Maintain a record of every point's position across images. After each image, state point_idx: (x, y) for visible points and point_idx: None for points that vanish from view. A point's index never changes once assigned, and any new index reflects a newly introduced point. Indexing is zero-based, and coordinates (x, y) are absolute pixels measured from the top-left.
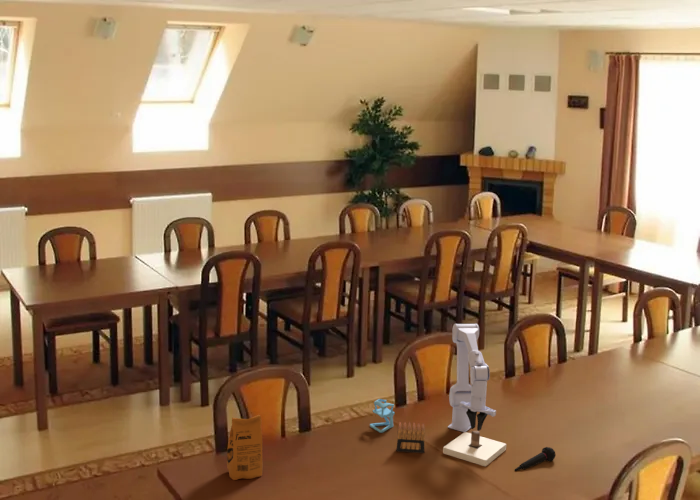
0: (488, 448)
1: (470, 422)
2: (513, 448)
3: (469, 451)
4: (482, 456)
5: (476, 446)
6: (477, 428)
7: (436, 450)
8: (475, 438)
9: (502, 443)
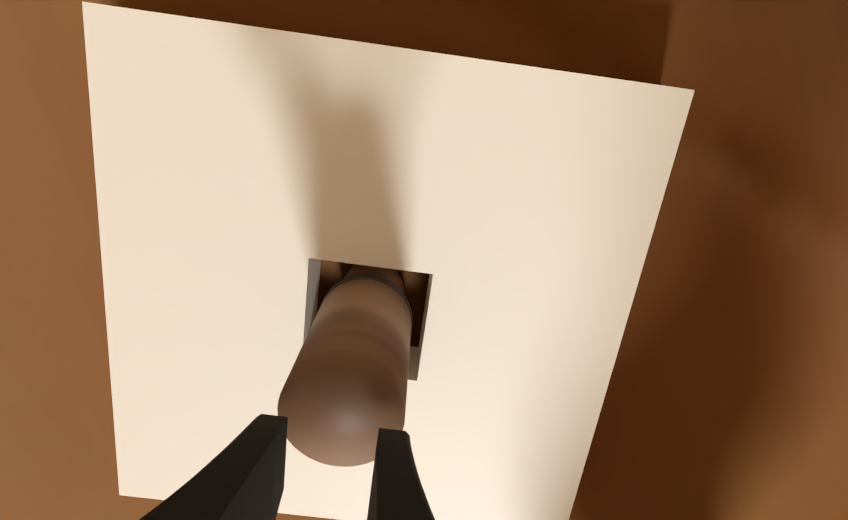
0: (213, 325)
1: (417, 507)
2: (113, 499)
3: (363, 147)
4: (172, 91)
5: (332, 291)
6: (271, 433)
7: (744, 122)
8: (329, 328)
9: (152, 484)
